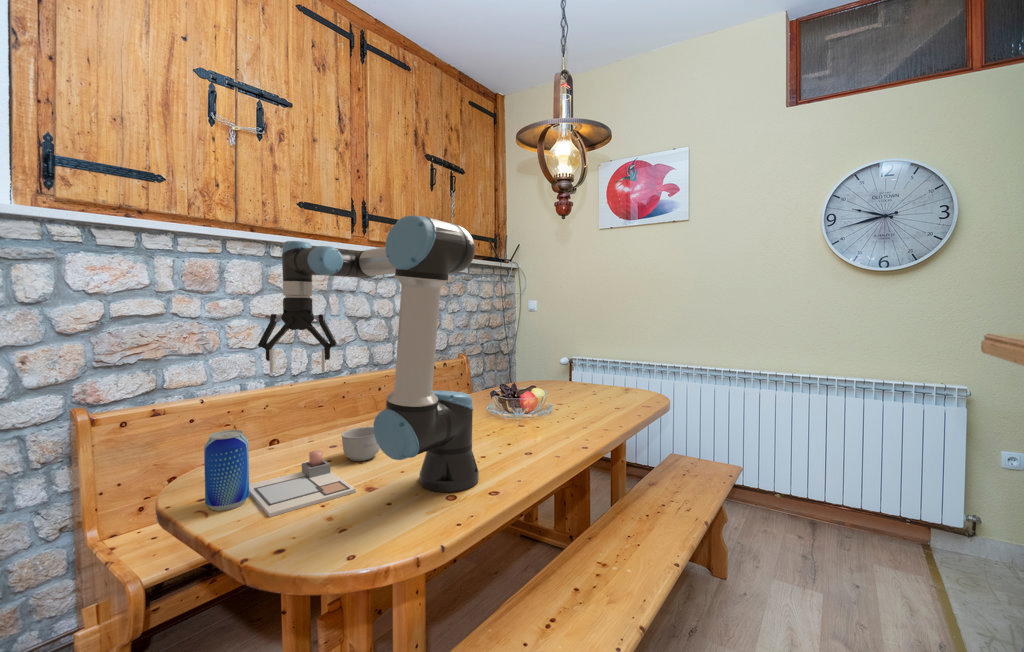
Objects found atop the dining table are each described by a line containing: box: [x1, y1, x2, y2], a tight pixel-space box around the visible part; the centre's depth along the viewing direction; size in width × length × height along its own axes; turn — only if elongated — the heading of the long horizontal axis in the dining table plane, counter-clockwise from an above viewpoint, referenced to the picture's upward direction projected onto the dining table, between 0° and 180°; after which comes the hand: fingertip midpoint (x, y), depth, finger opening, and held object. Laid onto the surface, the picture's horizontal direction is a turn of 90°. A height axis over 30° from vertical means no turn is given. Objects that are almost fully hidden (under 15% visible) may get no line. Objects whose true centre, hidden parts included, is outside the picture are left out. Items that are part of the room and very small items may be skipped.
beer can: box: [203, 429, 250, 512], centre depth 101 cm, size 8×8×16 cm
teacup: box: [340, 425, 381, 462], centre depth 134 cm, size 14×11×8 cm
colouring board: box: [249, 458, 357, 518], centre depth 109 cm, size 20×19×3 cm
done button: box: [308, 449, 324, 466], centre depth 119 cm, size 3×3×3 cm
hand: (298, 371), depth 129 cm, fingers open, 13 cm apart
